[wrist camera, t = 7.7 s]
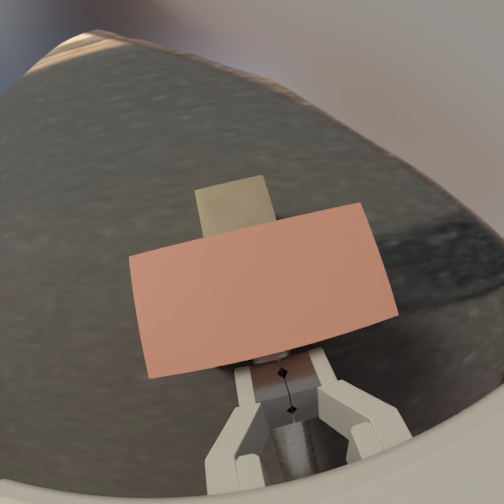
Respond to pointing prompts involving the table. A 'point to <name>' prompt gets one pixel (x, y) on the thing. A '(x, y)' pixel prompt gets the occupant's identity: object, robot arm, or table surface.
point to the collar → (259, 290)
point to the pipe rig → (296, 434)
